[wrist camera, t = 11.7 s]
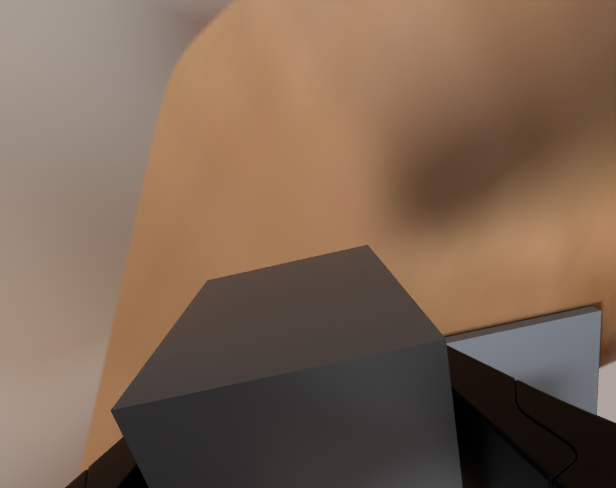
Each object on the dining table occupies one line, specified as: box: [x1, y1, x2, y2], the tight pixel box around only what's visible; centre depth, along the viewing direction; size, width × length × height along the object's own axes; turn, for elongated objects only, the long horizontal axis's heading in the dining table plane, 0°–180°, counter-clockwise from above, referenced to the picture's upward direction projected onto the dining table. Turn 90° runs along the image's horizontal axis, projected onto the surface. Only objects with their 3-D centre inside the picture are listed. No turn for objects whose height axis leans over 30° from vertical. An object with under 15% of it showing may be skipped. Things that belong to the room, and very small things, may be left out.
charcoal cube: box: [111, 245, 463, 488], centre depth 7 cm, size 5×5×5 cm
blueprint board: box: [445, 306, 601, 415], centre depth 21 cm, size 20×14×1 cm
